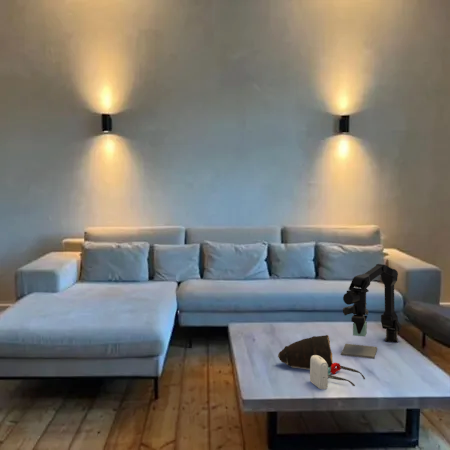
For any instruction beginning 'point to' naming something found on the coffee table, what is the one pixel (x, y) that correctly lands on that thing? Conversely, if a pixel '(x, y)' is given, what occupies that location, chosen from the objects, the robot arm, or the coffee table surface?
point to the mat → (359, 351)
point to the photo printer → (319, 372)
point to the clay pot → (306, 352)
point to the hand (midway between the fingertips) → (359, 331)
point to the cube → (363, 332)
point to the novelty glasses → (334, 370)
